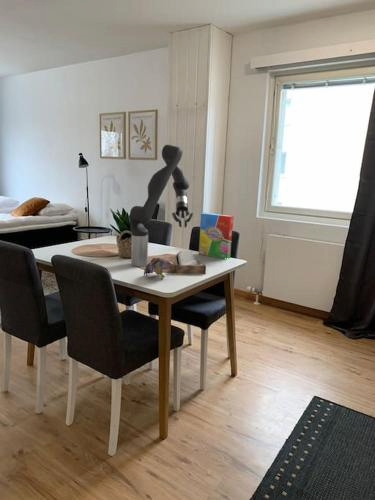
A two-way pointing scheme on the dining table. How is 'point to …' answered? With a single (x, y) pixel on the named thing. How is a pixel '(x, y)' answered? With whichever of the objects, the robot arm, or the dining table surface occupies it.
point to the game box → (215, 235)
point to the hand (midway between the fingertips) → (183, 226)
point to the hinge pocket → (189, 269)
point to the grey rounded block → (185, 258)
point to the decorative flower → (157, 266)
